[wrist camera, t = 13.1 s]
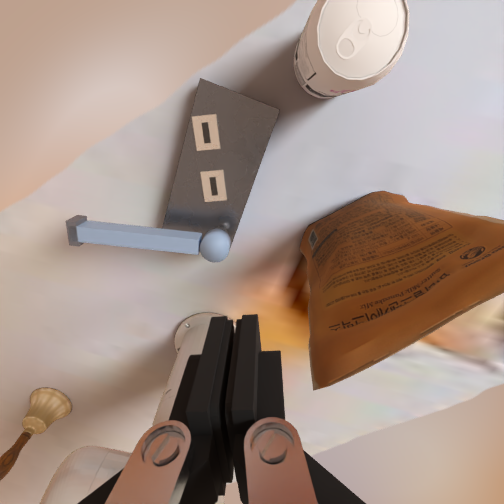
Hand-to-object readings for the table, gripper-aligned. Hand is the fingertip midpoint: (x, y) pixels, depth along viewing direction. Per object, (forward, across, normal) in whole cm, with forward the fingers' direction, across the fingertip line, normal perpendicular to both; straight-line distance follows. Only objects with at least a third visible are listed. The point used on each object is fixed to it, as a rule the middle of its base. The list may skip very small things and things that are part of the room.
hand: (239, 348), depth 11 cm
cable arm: (+29, +14, +5) cm, 32 cm away
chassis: (+35, +5, -1) cm, 36 cm away
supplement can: (+35, -10, -13) cm, 39 cm away
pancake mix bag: (+35, -12, +7) cm, 38 cm away
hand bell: (+35, +46, +42) cm, 71 cm away
